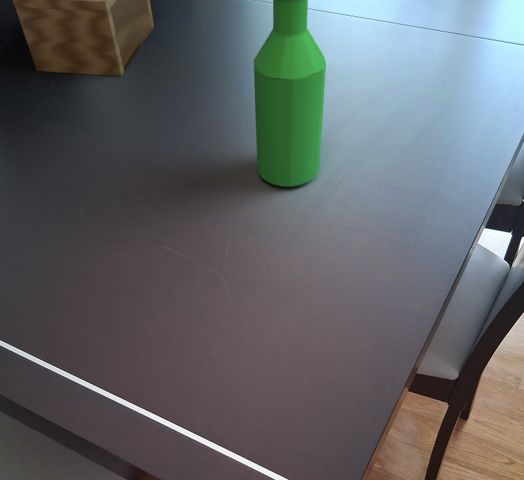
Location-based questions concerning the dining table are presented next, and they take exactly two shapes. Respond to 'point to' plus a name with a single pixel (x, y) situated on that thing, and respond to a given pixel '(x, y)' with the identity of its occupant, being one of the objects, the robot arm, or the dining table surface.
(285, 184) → the bottle
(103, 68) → the wood grain cube
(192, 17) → the dining table surface
